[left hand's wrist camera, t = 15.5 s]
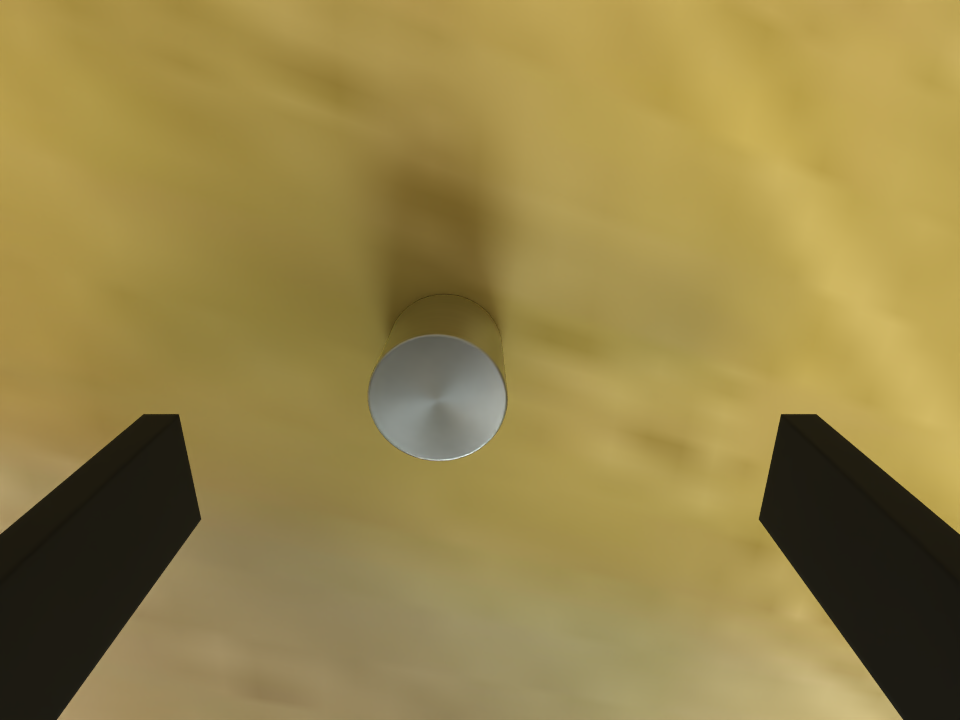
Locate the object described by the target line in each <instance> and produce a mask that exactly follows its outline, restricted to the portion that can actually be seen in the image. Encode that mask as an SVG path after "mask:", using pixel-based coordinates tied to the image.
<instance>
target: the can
mask: <svg viewBox="0 0 960 720" xmlns="http://www.w3.org/2000/svg"><path fill="white" fill-rule="evenodd" d="M507 402H508V396H507V385H506V376H505V367H504V359H503V350H502V342H501V337H500V333H499V330H498V328H497V326H496V324H495V322H494V320H493V319H492V318H491V316H490V315H489V314H488V313H487V312H486V311H485V310H484V309H483V308H482V307H481V306H479V305H478V304H476V303H475V302H473V301H471V300H469V299H467V298H464V297H460V296H456V295H448V294H440V295H433V296H428V297H425V298H422V299H420V300H418V301H416V302H414V303H413V304H411V305H410V306H409V307H408V308H406V309H405V310H404V311H403V312H402V313H401V315H400V316H399V317H398V319H397V320H396V322H395V324H394V326H393V328H392V330H391V333H390V335H389V337H388V339H387V342H386V344H385V346H384V348H383V350H382V353H381V355H380V357H379V359H378V361H377V364H376V366H375V368H374V370H373V372H372V375H371V378H370V381H369V386H368V405H369V410H370V413H371V416H372V419H373V421H374V423H375V425H376V426H377V428H378V430H379V431H380V433H381V434H382V435H383V436H384V437H385V439H387V440H388V441H389V442H390V443H391V444H392V445H393V446H395V447H396V448H397V449H399V450H401V451H403V452H404V453H406V454H409V455H411V456H413V457H417V458H420V459H424V460H430V461H448V460H454V459H458V458H462V457H465V456H467V455H470V454H472V453H474V452H475V451H477V450H479V449H480V448H482V447H483V446H484V445H486V444H487V443H488V442H489V441H490V440H491V439H492V438H493V437H494V435H495V434H496V433H497V431H498V430H499V428H500V426H501V425H502V422H503V420H504V417H505V414H506V410H507Z"/></svg>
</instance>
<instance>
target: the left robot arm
mask: <svg viewBox="0 0 960 720" xmlns="http://www.w3.org/2000/svg"><path fill="white" fill-rule="evenodd" d="M200 520H201V516H200V511H199V507H198V502H197V497H196V493H195V488H194V483H193V479H192V474H191V469H190V464H189V460H188V455H187V450H186V446H185V441H184V436H183V432H182V427H181V422H180V417H179V414H143V415H142V416H141V417H140V418H139V419H137V420H136V421H135V422H134V423H133V424H132V425H130V426H129V427H128V428H127V429H126V430H124V431H123V432H122V433H121V434H120V435H118V436H117V437H116V438H115V439H114V440H112V441H111V442H110V443H109V444H108V445H106V446H105V447H104V448H103V449H102V450H101V451H99V452H98V453H97V454H96V455H95V456H93V457H92V458H91V459H90V460H89V461H87V462H86V463H85V464H84V465H83V466H81V467H80V468H79V469H78V470H77V471H75V472H74V473H73V474H72V475H71V476H69V477H68V478H67V479H66V480H65V481H64V482H62V483H61V484H60V485H59V486H58V487H56V488H55V489H54V490H53V491H52V492H50V493H49V494H48V495H47V496H46V497H44V498H43V499H42V500H41V501H40V502H38V503H37V504H36V505H35V506H34V507H33V508H31V509H30V510H29V511H28V512H27V513H25V514H24V515H23V516H22V517H21V518H19V519H18V520H17V521H16V522H15V523H13V524H12V525H11V526H10V527H9V528H7V529H6V530H5V531H4V532H3V533H2V534H0V720H57V719H58V717H59V716H60V714H61V713H62V712H63V710H64V709H65V708H66V706H67V705H68V703H69V702H70V701H71V699H72V698H73V696H74V695H75V694H76V692H77V691H78V690H79V688H80V687H81V685H82V684H83V683H84V681H85V680H86V678H87V677H88V676H89V674H90V673H91V671H92V670H93V669H94V667H95V666H96V665H97V663H98V662H99V660H100V659H101V658H102V656H103V655H104V653H105V652H106V651H107V649H108V648H109V646H110V645H111V644H112V642H113V641H114V640H115V638H116V637H117V635H118V634H119V633H120V631H121V630H122V628H123V627H124V626H125V624H126V623H127V622H128V620H129V619H130V617H131V616H132V615H133V613H134V612H135V610H136V609H137V608H138V606H139V605H140V603H141V602H142V601H143V599H144V598H145V597H146V595H147V594H148V592H149V591H150V590H151V588H152V587H153V585H154V584H155V583H156V581H157V580H158V578H159V577H160V576H161V574H162V573H163V572H164V570H165V569H166V567H167V566H168V565H169V563H170V562H171V560H172V559H173V558H174V556H175V555H176V554H177V552H178V551H179V549H180V548H181V547H182V545H183V544H184V542H185V541H186V540H187V538H188V537H189V535H190V534H191V533H192V531H193V530H194V529H195V527H196V526H197V524H198V523H199V522H200ZM759 520H760V522H761V523H762V524H763V526H764V527H765V529H766V530H767V531H768V533H769V534H770V535H771V537H772V538H773V540H774V541H775V542H776V544H777V545H778V547H779V548H780V549H781V551H782V552H783V554H784V555H785V556H786V558H787V559H788V560H789V562H790V563H791V565H792V566H793V567H794V569H795V570H796V572H797V573H798V574H799V576H800V577H801V578H802V580H803V581H804V583H805V584H806V585H807V587H808V588H809V590H810V591H811V592H812V594H813V595H814V597H815V598H816V599H817V601H818V602H819V603H820V605H821V606H822V608H823V609H824V610H825V612H826V613H827V615H828V616H829V617H830V619H831V620H832V622H833V623H834V624H835V626H836V627H837V628H838V630H839V631H840V633H841V634H842V635H843V637H844V638H845V640H846V641H847V642H848V644H849V645H850V646H851V648H852V649H853V651H854V652H855V653H856V655H857V656H858V658H859V659H860V660H861V662H862V663H863V665H864V666H865V667H866V669H867V670H868V671H869V673H870V674H871V676H872V677H873V678H874V680H875V681H876V683H877V684H878V685H879V687H880V688H881V690H882V691H883V692H884V694H885V695H886V696H887V698H888V699H889V701H890V702H891V703H892V705H893V706H894V708H895V709H896V710H897V712H898V713H899V715H900V716H901V717H902V719H903V720H960V534H958V533H957V532H956V531H955V530H954V529H953V528H951V527H950V526H949V525H948V524H947V523H945V522H944V521H943V520H942V519H941V518H939V517H938V516H937V515H936V514H935V513H933V512H932V511H931V510H930V509H929V508H927V507H926V506H925V505H924V504H923V503H922V502H920V501H919V500H918V499H917V498H916V497H914V496H913V495H912V494H911V493H910V492H908V491H907V490H906V489H905V488H904V487H902V486H901V485H900V484H899V483H898V482H896V481H895V480H894V479H893V478H892V477H891V476H889V475H888V474H887V473H886V472H885V471H883V470H882V469H881V468H880V467H879V466H877V465H876V464H875V463H874V462H873V461H871V460H870V459H869V458H868V457H867V456H865V455H864V454H863V453H862V452H861V451H859V450H858V449H857V448H856V447H855V446H854V445H852V444H851V443H850V442H849V441H848V440H846V439H845V438H844V437H843V436H842V435H840V434H839V433H838V432H837V431H836V430H834V429H833V428H832V427H831V426H830V425H828V424H827V423H826V422H825V421H824V420H823V419H821V418H820V417H819V416H818V415H817V414H781V417H780V422H779V427H778V432H777V436H776V441H775V446H774V450H773V455H772V460H771V464H770V469H769V474H768V479H767V483H766V488H765V493H764V497H763V502H762V507H761V511H760V516H759Z"/></svg>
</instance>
